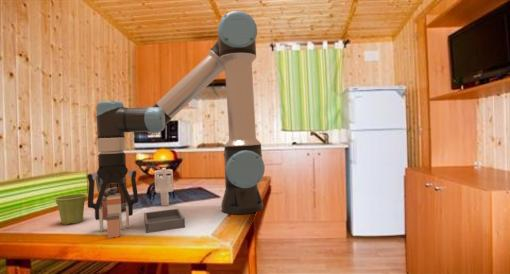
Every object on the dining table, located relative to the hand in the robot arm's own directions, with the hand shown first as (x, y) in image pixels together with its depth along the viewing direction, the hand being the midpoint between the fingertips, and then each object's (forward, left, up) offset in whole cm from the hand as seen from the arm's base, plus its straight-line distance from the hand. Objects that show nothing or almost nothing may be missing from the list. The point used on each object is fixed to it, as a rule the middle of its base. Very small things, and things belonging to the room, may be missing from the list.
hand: (115, 228), depth 94 cm
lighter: (+2, -17, 0) cm, 17 cm away
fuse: (0, 0, 0) cm, 0 cm away
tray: (-14, +2, 0) cm, 14 cm away
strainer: (-17, -26, 0) cm, 31 cm away
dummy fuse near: (0, +8, 0) cm, 8 cm away
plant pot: (+14, -16, 0) cm, 21 cm away
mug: (+3, -28, 0) cm, 28 cm away
